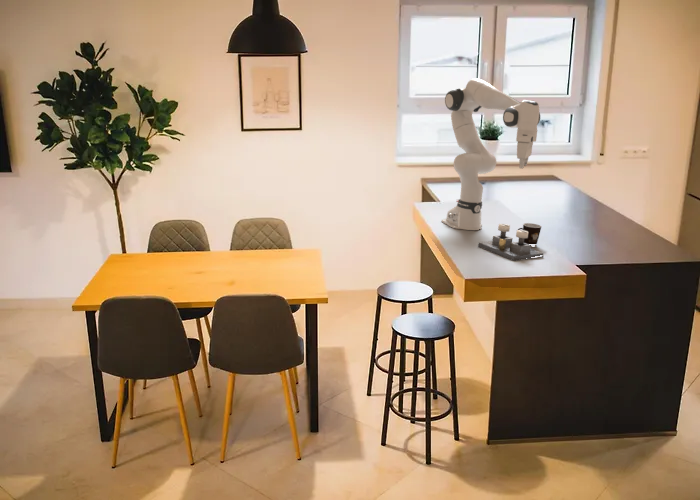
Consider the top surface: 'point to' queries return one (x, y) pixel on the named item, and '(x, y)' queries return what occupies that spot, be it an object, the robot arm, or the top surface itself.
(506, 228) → the knob
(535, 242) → the coffee mug
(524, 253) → the mount plate
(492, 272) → the top surface
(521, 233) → the knob
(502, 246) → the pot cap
